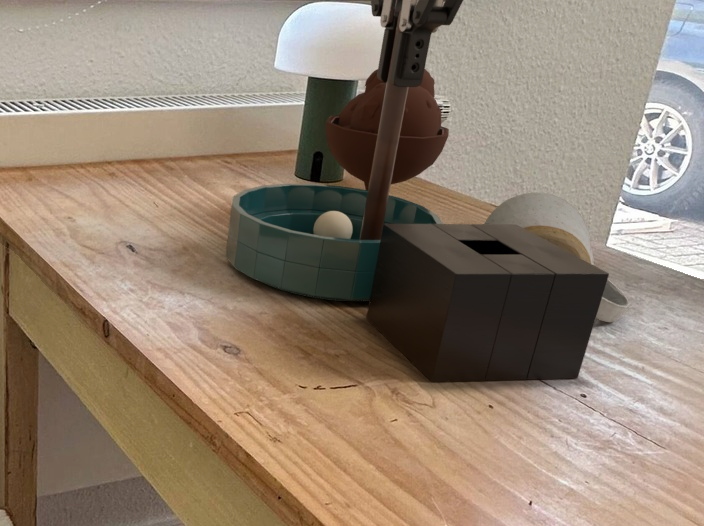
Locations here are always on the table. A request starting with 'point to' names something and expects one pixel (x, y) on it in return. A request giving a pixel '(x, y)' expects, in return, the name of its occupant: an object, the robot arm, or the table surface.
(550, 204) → the ceramic mug
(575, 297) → the holder
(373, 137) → the ice cream bowl
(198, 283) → the table surface
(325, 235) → the dough ball
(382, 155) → the stick
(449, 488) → the table surface
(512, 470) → the table surface
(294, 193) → the bowl
